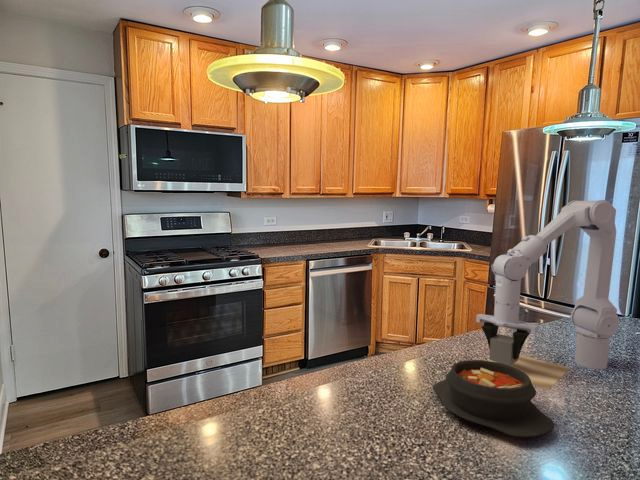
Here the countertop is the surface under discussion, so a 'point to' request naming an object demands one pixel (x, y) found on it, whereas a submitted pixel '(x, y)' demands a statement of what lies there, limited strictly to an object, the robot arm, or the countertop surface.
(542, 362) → the board
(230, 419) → the countertop surface
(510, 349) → the grey cube
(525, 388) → the casserole
